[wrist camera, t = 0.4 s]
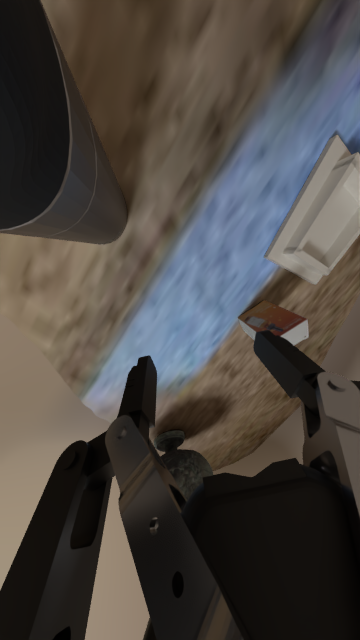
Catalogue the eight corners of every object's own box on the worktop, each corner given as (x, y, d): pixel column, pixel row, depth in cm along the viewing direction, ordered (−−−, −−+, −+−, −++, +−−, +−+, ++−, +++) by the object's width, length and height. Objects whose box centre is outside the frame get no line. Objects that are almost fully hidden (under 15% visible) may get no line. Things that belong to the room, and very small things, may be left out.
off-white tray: (263, 257, 28) (277, 258, 25) (329, 139, 21) (360, 120, 18) (311, 283, 34) (327, 287, 31) (374, 199, 27) (402, 193, 24)
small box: (264, 299, 33) (309, 318, 24) (268, 314, 36) (310, 336, 27) (236, 317, 34) (270, 342, 25) (243, 331, 36) (275, 358, 27)
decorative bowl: (130, 459, 56) (126, 551, 39) (141, 423, 46) (143, 525, 29) (186, 446, 66) (203, 516, 48) (205, 415, 56) (234, 488, 39)
